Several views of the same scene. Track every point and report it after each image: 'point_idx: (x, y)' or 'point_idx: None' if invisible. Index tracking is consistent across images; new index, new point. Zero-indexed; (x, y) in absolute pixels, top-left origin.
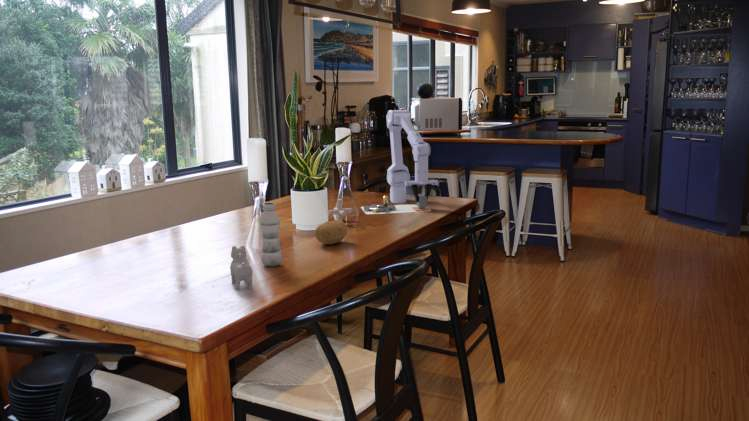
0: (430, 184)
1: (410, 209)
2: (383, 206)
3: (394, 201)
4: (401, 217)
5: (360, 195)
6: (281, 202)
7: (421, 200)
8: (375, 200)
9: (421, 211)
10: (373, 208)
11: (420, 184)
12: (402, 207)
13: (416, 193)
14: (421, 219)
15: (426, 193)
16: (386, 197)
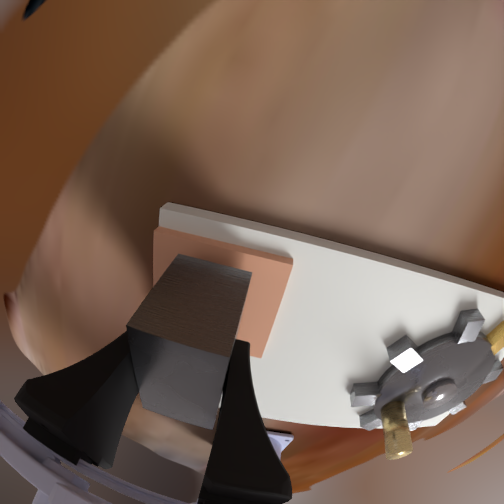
0: (33, 434)
1: (290, 331)
2: (416, 396)
3: (276, 448)
4: (454, 187)
5: (296, 489)
6: (467, 461)
7: (212, 312)
8: (297, 470)
9: (245, 235)
10: (481, 370)
11: (149, 501)
12: (302, 386)
13: (245, 415)
14: (353, 30)
15: (117, 373)
16: (404, 443)
